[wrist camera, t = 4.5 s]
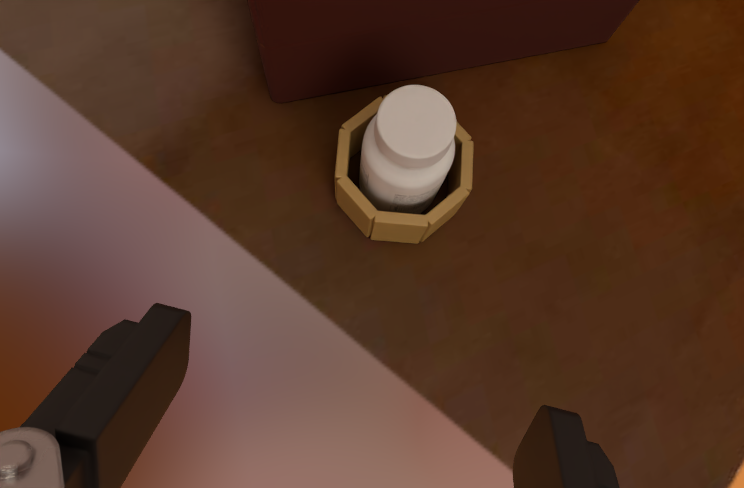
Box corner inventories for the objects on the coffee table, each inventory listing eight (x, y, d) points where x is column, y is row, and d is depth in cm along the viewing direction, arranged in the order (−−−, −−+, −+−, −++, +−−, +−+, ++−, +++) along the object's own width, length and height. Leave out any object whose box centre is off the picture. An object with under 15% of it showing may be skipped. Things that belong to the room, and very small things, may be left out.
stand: (456, 247, 30) (471, 230, 27) (331, 236, 30) (330, 218, 27) (460, 132, 32) (475, 102, 29) (342, 121, 32) (342, 90, 28)
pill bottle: (452, 176, 31) (488, 112, 24) (406, 236, 30) (428, 189, 23) (389, 131, 32) (405, 54, 24) (342, 189, 31) (343, 127, 23)
